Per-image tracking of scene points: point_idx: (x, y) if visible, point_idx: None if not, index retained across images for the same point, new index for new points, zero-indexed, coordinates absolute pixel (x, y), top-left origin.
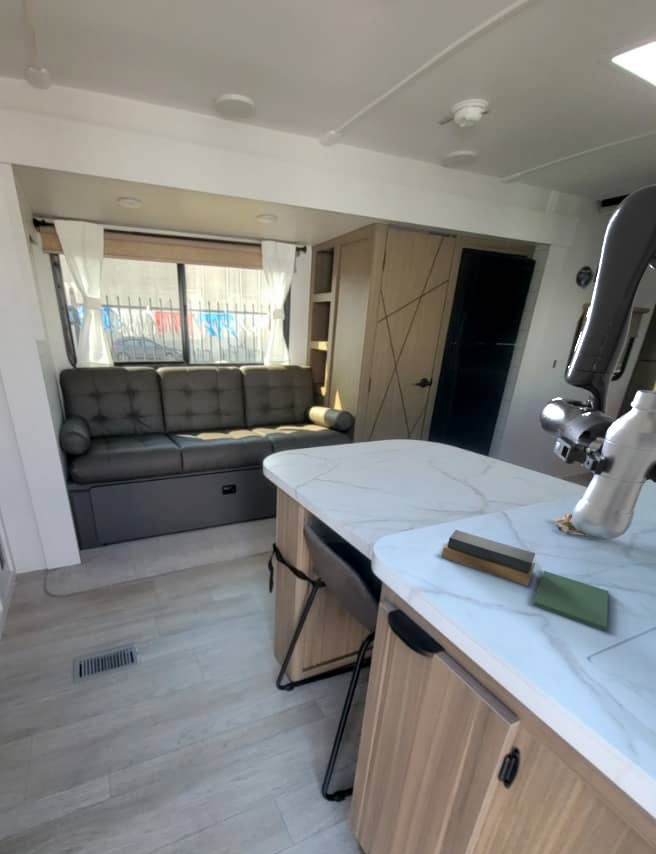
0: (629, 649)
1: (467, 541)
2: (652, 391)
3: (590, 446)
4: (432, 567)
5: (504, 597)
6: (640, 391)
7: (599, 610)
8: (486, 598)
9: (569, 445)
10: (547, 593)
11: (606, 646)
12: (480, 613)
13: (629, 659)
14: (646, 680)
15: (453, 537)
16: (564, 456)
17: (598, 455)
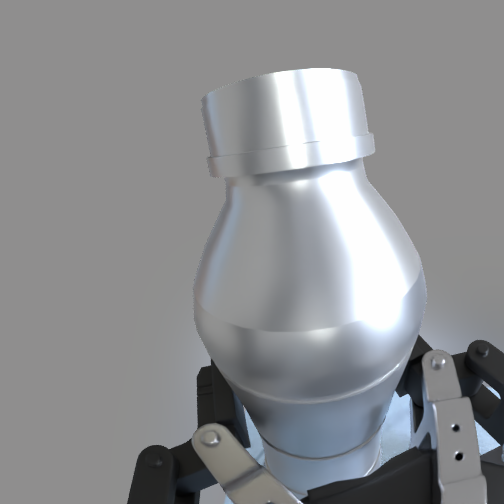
0: (252, 449)
1: (484, 459)
2: (293, 75)
3: (457, 395)
4: (480, 425)
5: (391, 446)
6: (349, 79)
7: None
8: (405, 427)
9: (494, 347)
10: None
11: None
12: (396, 399)
13: (255, 433)
14: (245, 414)
15: (501, 449)
16: (489, 396)
17: None
